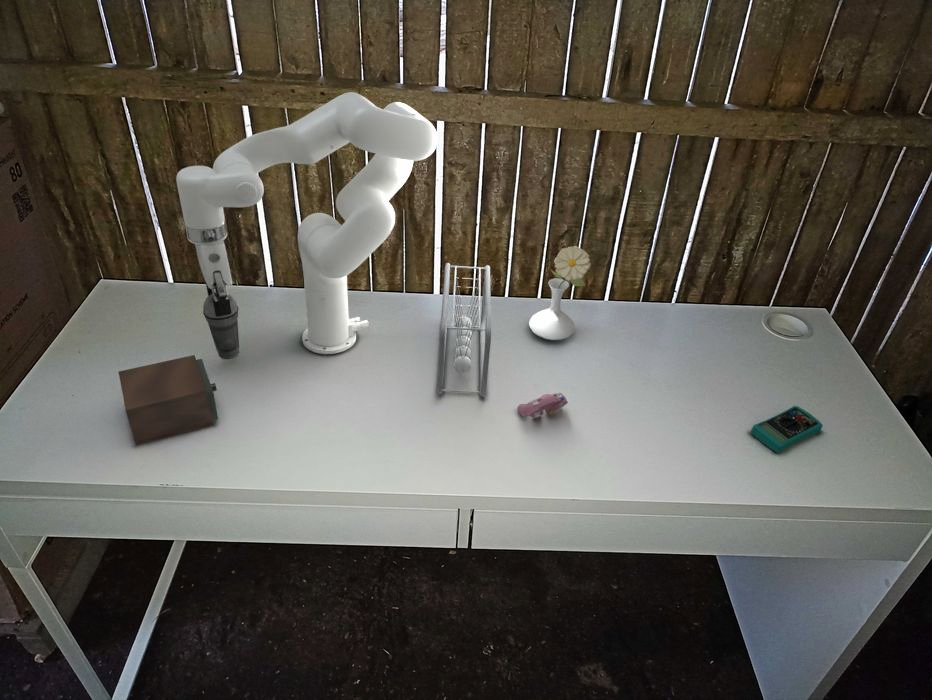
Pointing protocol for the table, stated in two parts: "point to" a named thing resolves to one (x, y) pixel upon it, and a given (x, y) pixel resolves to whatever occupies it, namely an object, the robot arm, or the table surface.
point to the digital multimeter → (786, 428)
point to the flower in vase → (553, 319)
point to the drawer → (208, 389)
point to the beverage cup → (223, 328)
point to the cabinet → (165, 399)
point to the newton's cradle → (466, 330)
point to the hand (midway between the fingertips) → (219, 305)
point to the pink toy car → (542, 405)
